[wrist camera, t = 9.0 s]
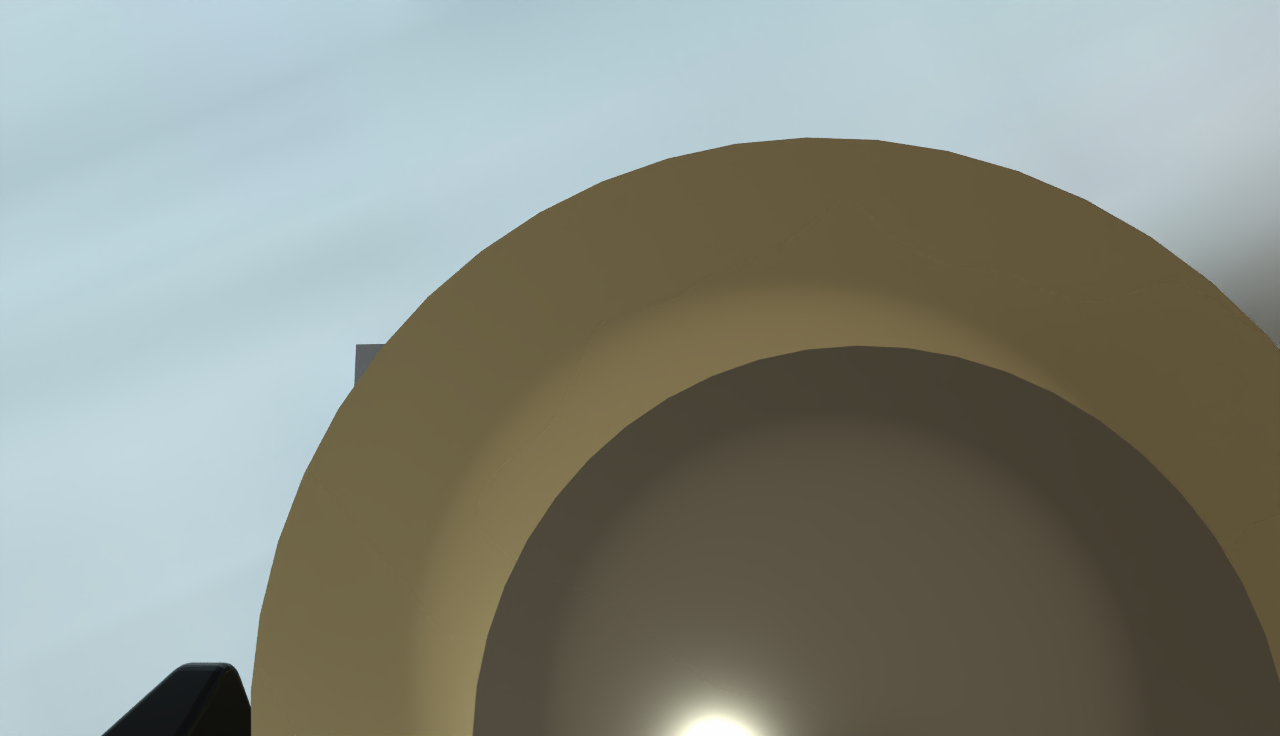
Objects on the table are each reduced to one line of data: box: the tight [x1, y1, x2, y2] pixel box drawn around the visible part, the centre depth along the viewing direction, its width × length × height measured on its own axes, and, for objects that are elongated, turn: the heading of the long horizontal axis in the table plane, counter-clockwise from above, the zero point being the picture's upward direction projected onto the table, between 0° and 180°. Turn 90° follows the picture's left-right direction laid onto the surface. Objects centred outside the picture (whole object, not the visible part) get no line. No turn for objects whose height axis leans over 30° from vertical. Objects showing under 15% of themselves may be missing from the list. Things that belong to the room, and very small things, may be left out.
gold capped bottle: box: [251, 138, 1280, 736], centre depth 10 cm, size 5×5×14 cm
